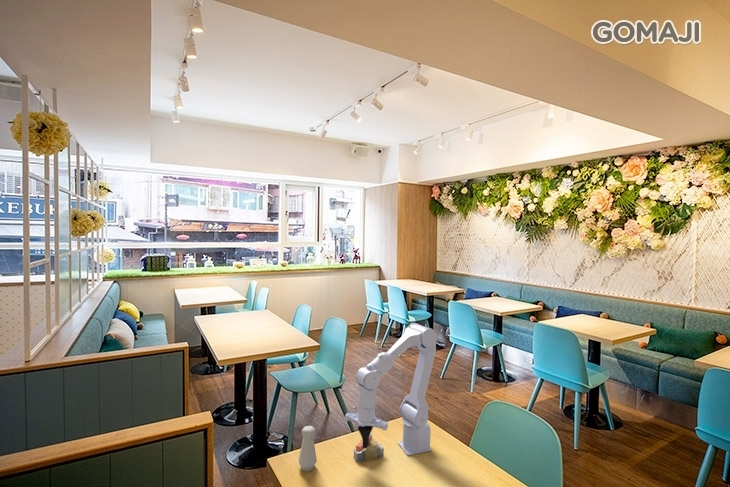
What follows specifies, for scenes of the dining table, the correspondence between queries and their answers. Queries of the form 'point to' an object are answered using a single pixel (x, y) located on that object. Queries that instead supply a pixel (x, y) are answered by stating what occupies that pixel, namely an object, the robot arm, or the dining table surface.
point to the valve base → (369, 452)
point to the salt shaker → (307, 449)
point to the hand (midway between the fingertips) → (365, 446)
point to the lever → (360, 445)
